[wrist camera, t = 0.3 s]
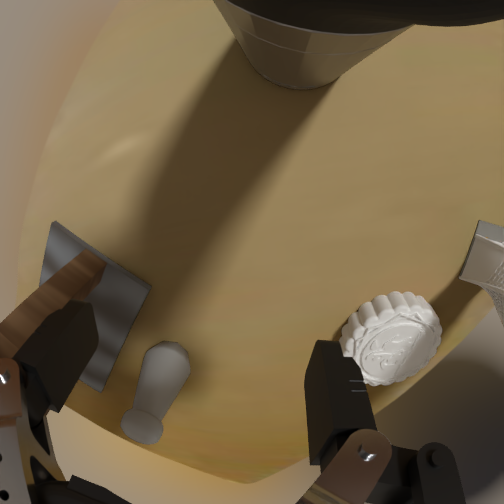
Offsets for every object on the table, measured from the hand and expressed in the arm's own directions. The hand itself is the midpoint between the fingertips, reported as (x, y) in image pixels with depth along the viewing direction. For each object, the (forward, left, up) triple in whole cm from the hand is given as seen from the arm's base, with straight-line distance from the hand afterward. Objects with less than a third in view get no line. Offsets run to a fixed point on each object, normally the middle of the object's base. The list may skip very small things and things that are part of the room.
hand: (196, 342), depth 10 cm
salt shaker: (+21, -5, -19) cm, 29 cm away
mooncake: (+11, +19, -19) cm, 29 cm away
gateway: (+21, -19, -19) cm, 34 cm away
